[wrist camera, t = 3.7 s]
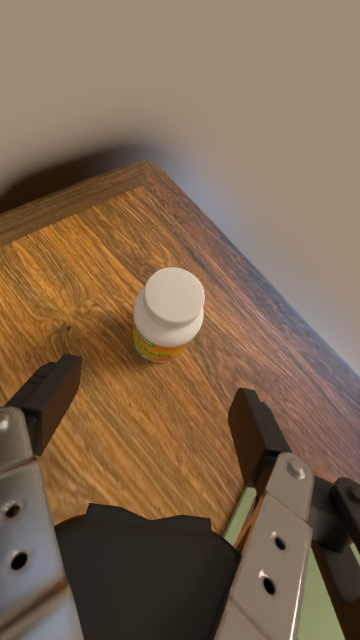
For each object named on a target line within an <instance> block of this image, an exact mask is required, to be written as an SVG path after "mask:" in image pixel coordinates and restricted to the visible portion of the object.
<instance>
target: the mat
mask: <svg viewBox="0 0 360 640" xmlns="http://www.w3.org/2000/svg"><path fill="white" fill-rule="evenodd" d="M256 494H257V493H256V490H255V488H249V487H245V489H244V491H243V494H242V496H241V498H240V500H239V502H238V504H237V507H236V509H235V511H234V513H233V515H232V517H231V520H230V522H229V524H228V526H227V528H226V531H225V533H224V535H223V538H225V539H226V540H227V541H228V542H229V543H230V544H231V545H232V546H234V544H235V542H236V540H237V538H238V535H239V533H240V531H241V528H242V526H243V524H244V521H245V519H246V516H247V514H248V512H249V509H250V507H251V504H252V502H253V500H254V498H255V496H256ZM350 547H351V549H352V551H353V553H354V555H355V557H356V559H357V561H358V563H359V565H360V554H359V552H358V550H357V548H356V546H355V544H354V543H352V544H351V545H350ZM297 638H298V640H345V638H344V635H343V632H342V630H341V627H340V624H339V622H338V619H337V616H336V614H335V611H334V608H333V605H332V603H331V600H330V597H329V595H328V592H327V589H326V587H325V584H324V581H323V578H322V576H321V573H320V570H319V568H318V565H317V562H316V560H315V557H314V554H313V551H312V549H311V547H310V554H309V560H308V567H307V574H306V581H305V588H304V595H303V602H302V608H301V615H300V622H299V629H298V636H297Z"/></svg>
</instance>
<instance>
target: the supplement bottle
mask: <svg viewBox="0 0 360 640" xmlns="http://www.w3.org/2000/svg"><path fill="white" fill-rule="evenodd" d="M204 300H205V295H204V290H203V287H202V285H201V283H200V282H199V280H198V279H197V278H196V277H195V276H194V275H193V274H191V273H190V272H188V271H186V270H184V269H180V268H174V267H170V268H164V269H161V270H159V271H157V272H155V273H154V274H153V275H152V276H151V277H150V278H149V279H148V281H147V283H146V285H145V287H144V288H143V289H142V290H141V291H140V292H139V294H138V295H137V297H136V299H135V302H134V307H133V340H134V344H135V347H136V349H137V350H138V352H139V353H140V354H141V355H142V356H143V357H144V358H146V359H148V360H150V361H152V362H157V363H164V362H168V361H171V360H173V359H175V358H176V357H177V356H179V355H180V354H181V353H182V351H183V350H184V349H185V348H186V346H187V345H188V344H189V343H190V341H191V340H192V339H193V338H194V337H195V335H196V334H197V333H198V331H199V329H200V327H201V325H202V322H203V315H204V314H203V305H204Z"/></svg>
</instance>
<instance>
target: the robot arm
mask: <svg viewBox="0 0 360 640" xmlns="http://www.w3.org/2000/svg"><path fill="white" fill-rule="evenodd" d="M81 364H82V357H81V356H76V355H71V354H66V353H65V354H64V355H63V356H62V357H61V358H60V360H59V361H58V362H57V363H55V362H49V363H47V364H45V365H43V366H41V367H40V368H39V369H38V370H37V371H36V372H35V373H34V374H33V376H31V377H30V378H29V380H28V381H27V382H26V383H25V384H24V385H23V386H22V387H21V388H20V389H19V390H18V391H17V393H16V394H15V395H14V396H13V397H12V398H11V399H10V400H9V401H8V402H7V403H6V404H5V406H4V407H0V640H298V638H297V636H298V629H299V622H300V615H301V608H302V602H303V595H304V588H305V581H306V574H307V567H308V560H309V554H310V547H311V549H312V551H313V554H314V557H315V560H316V562H317V565H318V568H319V570H320V573H321V576H322V578H323V581H324V584H325V587H326V589H327V592H328V595H329V597H330V600H331V603H332V605H333V608H334V611H335V614H336V616H337V619H338V622H339V624H340V627H341V630H342V632H343V635H344V638H345V640H360V565H359V563H358V561H357V559H356V557H355V555H354V553H353V551H352V549H351V547H350V545H351V544H352V543H354V544H355V546H356V548H357V550H358V552H359V554H360V485H359V484H358V483H356V482H355V481H353V480H351V479H349V478H345V477H340V478H338V479H337V480H336V482H335V483H334V484H332V483H330V482H328V481H326V480H323V479H321V478H319V477H317V476H315V475H314V474H313V472H312V470H311V469H310V467H309V466H308V465H307V463H306V462H305V461H303V460H302V459H301V458H300V457H298V456H297V455H295V454H292V452H291V450H290V448H289V446H288V444H287V442H286V440H285V438H284V436H283V434H282V432H281V430H280V428H278V424H277V422H276V420H275V418H274V416H273V414H272V412H271V410H270V409H269V408H268V407H267V406H266V405H265V403H264V402H261V401H260V400H259V398H258V396H257V394H256V392H255V391H254V390H251V389H245V388H239V389H238V390H237V392H236V395H235V397H234V400H233V402H232V404H231V407H230V409H229V413H228V423H229V427H230V431H231V434H232V438H233V442H234V446H235V450H236V454H237V458H238V461H239V465H240V469H241V473H242V477H243V481H244V485H245V487H249V488H255V490H256V493H257V494H256V496H255V498H254V500H253V502H252V504H251V507H250V509H249V512H248V514H247V516H246V519H245V521H244V524H243V526H242V528H241V531H240V533H239V535H238V538H237V540H236V542H235V544H234V546H232V545H231V544H230V543H229V542H228V541H227V540H226V539H225V538H223V537H222V536H221V535H219V534H217V533H216V532H214V531H212V530H211V521H210V518H203V517H195V516H187V515H178V516H173V517H167V518H162V519H157V520H148V519H146V518H144V517H141V516H139V515H137V514H135V513H133V512H130V511H128V510H126V509H124V508H122V507H117V506H109V505H102V504H94V503H89V506H88V509H87V512H86V514H83V515H78V516H75V517H72V518H69V519H67V520H65V521H63V522H61V523H59V524H57V525H56V526H54V525H53V521H52V517H51V513H50V509H49V505H48V501H47V496H46V492H45V488H44V484H43V480H42V476H41V472H40V467H39V463H38V460H37V458H36V457H35V458H34V456H33V455H36V456H41V455H42V453H43V451H44V450H45V448H46V446H47V444H48V443H49V441H50V439H51V437H52V436H53V434H54V432H55V430H56V429H57V427H58V425H59V423H60V422H61V420H62V418H63V416H64V415H65V413H66V411H67V409H68V408H69V406H70V404H71V402H72V401H73V399H74V397H75V395H76V393H77V391H78V388H79V383H80V374H81Z"/></svg>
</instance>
